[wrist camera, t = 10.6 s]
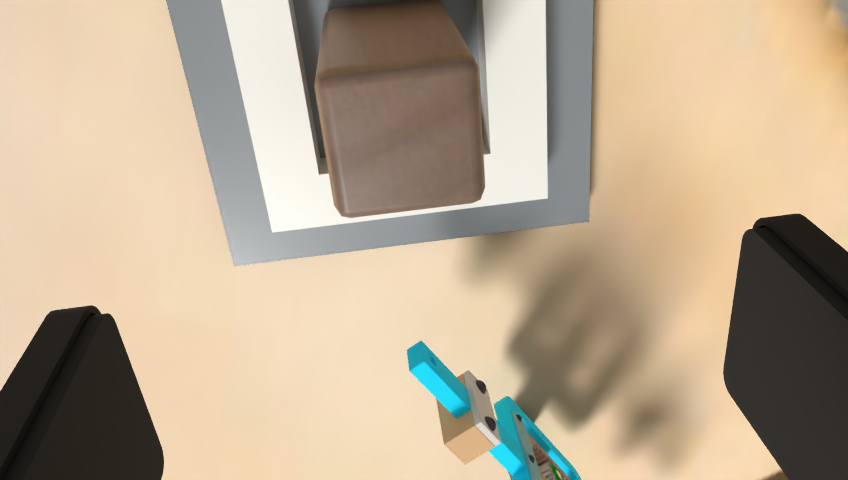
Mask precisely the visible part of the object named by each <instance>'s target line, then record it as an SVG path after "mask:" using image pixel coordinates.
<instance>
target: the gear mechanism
mask: <svg viewBox="0 0 848 480" xmlns="http://www.w3.org/2000/svg"><path fill="white" fill-rule="evenodd" d="M407 355H408V363H409V371H410V372H411V373H412V374H413V375H414V376H415V377H416V378H417V379H418V380H419V381H420V382H421V383H422V384H423V385H424V386H425V387H426V388H427V389H428V390H429V391H430V392H431V393H432V394H433V395H434V396H435V397H436V399H437V405H438V411H439V417H440V423H441V429H442V435H443V441H444V445H445V446H446V447H447V448H448V449H449V450H451V451H452V452H453V453H454V454H455V455H456V456H457V457H458V458H459V459H460V460H461V461H462V462H463V463H464V464H467V463H469V462H470V461H472V460H474V459H475V458H477V457H479V456H480V455H482V454H484V453H485V452H487V451H489V452H490V453H491V454H492V455H493V456H494V457H495V458H496V459H497V460H498V461H499V462H500V463H501V464H502V465H503V466H504V467H505V468H506V469H507V470H508V473H509V474H510V478H511V480H581V478H580V476H579V475H578V473H577V471H576V470H575V468H574V467H573V466H572V465H571V464H570V463H569V461H568V460H567V459H566V458H565V457H564V456H563V455H562V454H561V453H560V452H559V450H558V449H557V448H556V447H555V446H554V445H553V444H552V443H551V442H550V441H549V439H548V438H547V437H546V436H545V435H544V434H543V433H542V432H541V431H540V430H539V428H538V427H537V426H536V425H535V424H534V423H533V422H532V421H531V420H530V419H529V417H528V416H527V415H526V414H525V413H524V412H523V411H522V410H521V409H520V408H519V406H518V405H517V404H516V403H515V402H514V401H513V400H512V399H511V398H510V397H508V396H506V397H505V398H503V399H501V400H500V401H498V402H497V403H495V405H494V408H495V412H496V415H497V419H498V421H497V420H496V419H495V417H494V413H493V409H492V406H491V402H490V398H489V394H488V391H487V389H486V386H485V384H484V383H483V382H482V381H480V380H477V379H476V378H475V376H474V375H473V374H472V373H471V372H470V371H469V370H468V371H466V372H465V373H463V374H462V375H460V376H459V377H457V378H456V377H455V376H454V375H453V373H452V372H451V371H450V370H449V369H448V368H447V367H446V366H445V365H444V364H443V363H442V362H441V361H440V360H439V359H438V358H437V357H436V355H435V354H434V353H433V352H432V351H431V350H430V349H429V348H428V347H427V346H426V345H425V344H424V343H423V342H422V341H420V342H418V343H417V344H415V345H414V346H412V347H411V348H409V349H408V350H407Z"/></svg>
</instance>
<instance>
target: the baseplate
mask: <svg viewBox="0 0 848 480" xmlns="http://www.w3.org/2000/svg"><path fill="white" fill-rule="evenodd" d="M166 1H167V5H168V9H169V13H170V17H171V21H172V25H173V29H174V33H175V37H176V41H177V44H178V48H179V52H180V56H181V60H182V64H183V68H184V72H185V76H186V80H187V84H188V88H189V91H190V95H191V99H192V103H193V107H194V111H195V115H196V119H197V123H198V127H199V131H200V135H201V138H202V142H203V146H204V150H205V154H206V158H207V162H208V166H209V170H210V174H211V178H212V181H213V185H214V189H215V193H216V197H217V201H218V205H219V209H220V213H221V217H222V221H223V225H224V228H225V232H226V236H227V240H228V244H229V248H230V252H231V256H232V260H233V264H234V266H239V265H247V264H255V263H263V262H271V261H279V260H287V259H295V258H303V257H311V256H319V255H327V254H335V253H343V252H351V251H359V250H366V249H374V248H382V247H390V246H398V245H406V244H414V243H422V242H430V241H438V240H446V239H454V238H462V237H470V236H478V235H486V234H494V233H502V232H510V231H518V230H526V229H533V228H541V227H549V226H557V225H565V224H573V223H581V222H589V200H590V150H591V99H592V49H593V0H440V1H441V2H442V4H443V6H444V7H445V9H446V11H447V12H448V14H449V16H450V17H451V19H452V21H453V23H454V24H455V26H456V28H457V29H458V31H459V33H460V34H461V36H462V38H463V40H464V41H465V43H466V45H467V46H468V48H469V50H470V51H471V53H472V55H473V57H474V59H475V61H476V63H477V65H478V67H479V79H480V98H481V116H482V135H483V153H484V172H485V189H484V192H483V195H482V197H481V200H479V201H476V202H474V203H470V204H462V205H454V206H445V207H437V208H429V209H421V210H412V211H404V212H396V213H388V214H380V215H371V216H363V217H355V218H348V217H342V216H341V215H340V214H339V212H338V211H337V209H336V208H335V206H334V202H333V196H332V190H331V184H330V178H329V172H328V166H327V160H326V154H325V148H324V142H323V136H322V130H321V124H320V118H319V112H318V106H317V100H316V94H315V88H314V84H315V77H316V70H317V63H318V56H319V49H320V41H321V34H322V27H323V21H324V17H325V13H326V12H328V11H330V10H331V9H333V8H340V7H349V6H358V5H367V4H376V3H385V2H394V1H403V0H166Z"/></svg>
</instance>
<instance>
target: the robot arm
mask: <svg viewBox="0 0 848 480" xmlns="http://www.w3.org/2000/svg"><path fill="white" fill-rule="evenodd" d="M723 374H724V381H725V385H726V388H727V390H728V392H729V394H730V395H731V397H732V398H733V400H734V401H735V403H736V404H737V406H738V407H739V408H740V410H741V411H742V413H743V414H744V416H745V417H746V419H747V420H748V421H749V423H750V424H751V426H752V427H753V429H754V430H755V431H756V433H757V434H758V436H759V437H760V439H761V440H762V442H763V443H764V444H765V446H766V447H767V449H768V450H769V452H770V453H771V455H772V456H773V457H774V459H775V460H776V462H777V463H778V465H779V466H780V467H781V469H782V470H783V472H784V473H785V475H786V476H787V478H788V479H789V480H848V252H847V251H846V250H845V249H844V248H842V247H841V246H840V245H839V244H838V243H836V242H835V241H834V240H833V239H831V238H830V237H829V236H828V235H827V234H825V233H824V232H823V231H822V230H821V229H819V228H818V227H817V226H816V225H814V224H813V223H812V222H811V221H810V220H808V219H807V218H806V217H805V216H803V215H801V214H790V215H782V216H774V217H767V218H760V219H758V220H757V221H756V222H755V224H754V226H753V229H749V230H747V231H745V233H744V235H743V238H742V244H741V251H740V258H739V265H738V271H737V278H736V285H735V292H734V299H733V306H732V313H731V320H730V327H729V334H728V341H727V348H726V355H725V362H724V371H723ZM163 468H164V457H163V450H162V447H161V444H160V441H159V439H158V436H157V433H156V430H155V428H154V425H153V422H152V420H151V417H150V414H149V412H148V409H147V406H146V403H145V401H144V398H143V395H142V393H141V390H140V387H139V385H138V382H137V379H136V376H135V374H134V371H133V368H132V366H131V363H130V360H129V358H128V355H127V352H126V349H125V347H124V344H123V341H122V339H121V336H120V333H119V331H118V328H117V325H116V322H115V320H114V318H113V317H112V316H111V315H110V314H108V313H107V314H101V313H100V311H99V310H98V309H97V308H96V307H95V306H84V307H76V308H69V309H61V310H54V311H51V312H50V313H49V314H48V315H47V316H46V318H45V319H44V321H43V322H42V324H41V326H40V327H39V329H38V331H37V332H36V334H35V336H34V337H33V339H32V340H31V342H30V344H29V345H28V347H27V349H26V350H25V352H24V354H23V355H22V357H21V358H20V360H19V362H18V363H17V365H16V367H15V368H14V370H13V372H12V373H11V375H10V376H9V378H8V380H7V381H6V383H5V385H4V386H3V388H2V390H1V391H0V480H161V478H162V474H163Z"/></svg>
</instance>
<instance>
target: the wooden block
mask: <svg viewBox="0 0 848 480" xmlns="http://www.w3.org/2000/svg"><path fill="white" fill-rule="evenodd" d="M314 88H315V94H316V100H317V106H318V112H319V118H320V124H321V130H322V136H323V142H324V148H325V154H326V160H327V166H328V172H329V178H330V184H331V190H332V196H333V202H334V206H335V208H336V209H337V211H338V212H339V214H340V215H341V216H342V217H348V218H355V217H363V216H371V215H380V214H388V213H396V212H404V211H412V210H421V209H429V208H437V207H445V206H454V205H462V204H470V203H474V202H476V201H479V200H481V197H482V195H483V192H484V189H485V172H484V153H483V135H482V116H481V98H480V79H479V67H478V65H477V63H476V61H475V59H474V57H473V55H472V53H471V51H470V50H469V48H468V46H467V45H466V43H465V41H464V40H463V38H462V36H461V34H460V33H459V31H458V29H457V28H456V26H455V24H454V23H453V21H452V19H451V17H450V16H449V14H448V12H447V11H446V9H445V7H444V6H443V4H442V2H441V1H440V0H403V1H394V2H385V3H376V4H367V5H358V6H349V7H340V8H333V9H331V10H330V11H328V12H326V13H325V17H324V21H323V27H322V34H321V41H320V49H319V56H318V63H317V70H316V77H315V84H314Z"/></svg>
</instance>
